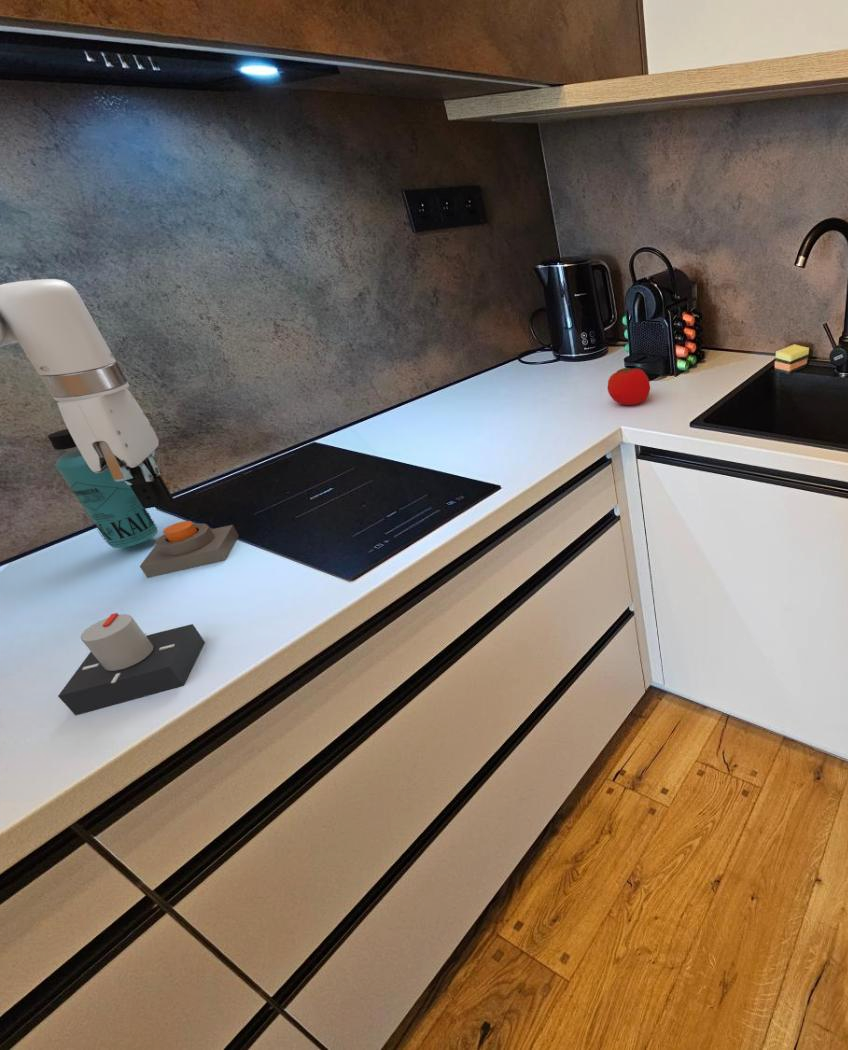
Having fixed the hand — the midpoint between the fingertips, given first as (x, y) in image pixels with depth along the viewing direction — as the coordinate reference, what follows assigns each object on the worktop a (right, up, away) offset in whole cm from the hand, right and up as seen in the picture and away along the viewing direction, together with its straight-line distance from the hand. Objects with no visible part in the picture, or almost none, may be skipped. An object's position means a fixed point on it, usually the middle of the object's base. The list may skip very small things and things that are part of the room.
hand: (159, 504), depth 86 cm
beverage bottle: (-11, -7, +9) cm, 16 cm away
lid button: (+1, -5, +3) cm, 6 cm away
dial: (+15, -18, -19) cm, 30 cm away
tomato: (+63, +26, +54) cm, 87 cm away
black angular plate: (+15, -21, -18) cm, 31 cm away
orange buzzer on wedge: (+1, -8, +5) cm, 10 cm away
